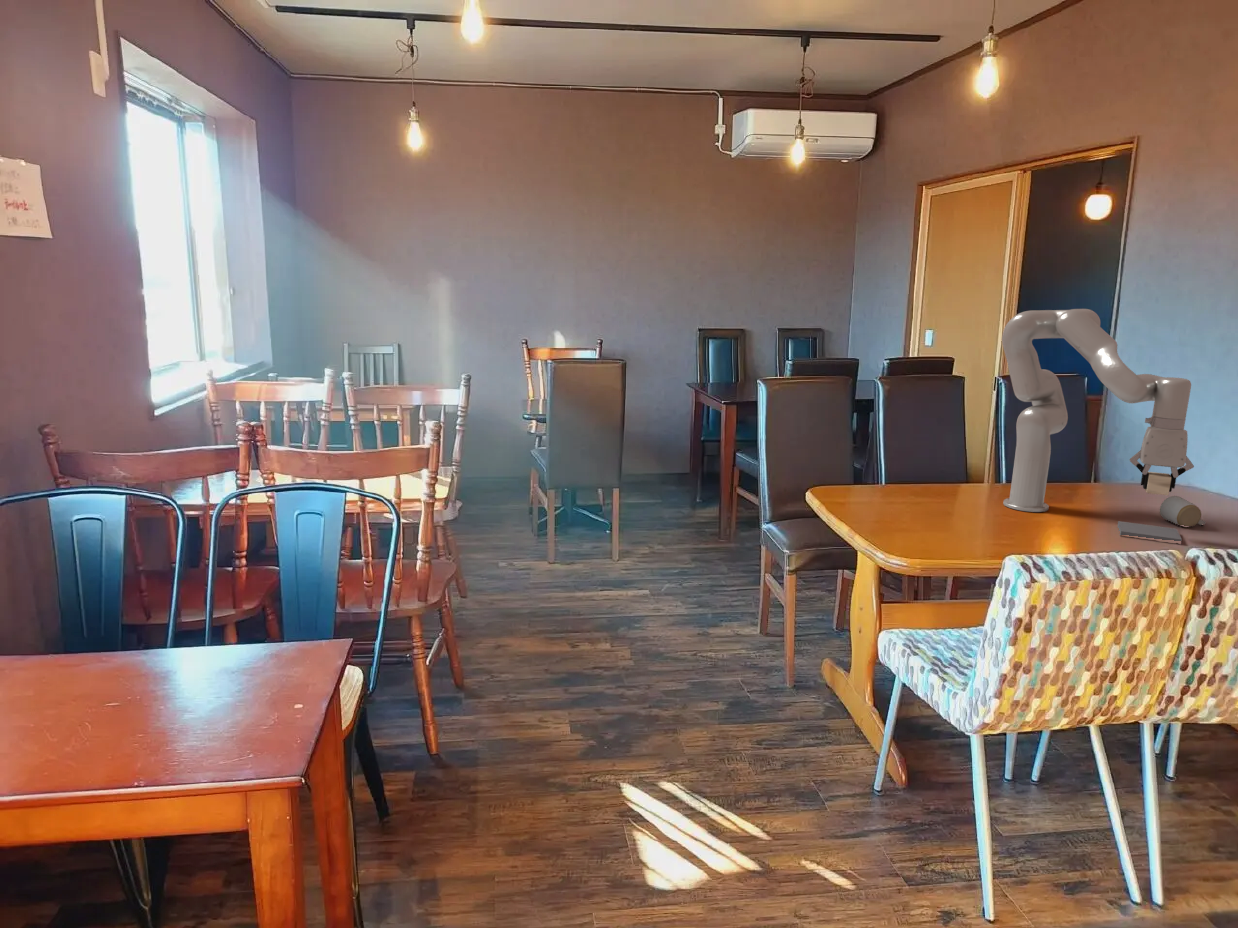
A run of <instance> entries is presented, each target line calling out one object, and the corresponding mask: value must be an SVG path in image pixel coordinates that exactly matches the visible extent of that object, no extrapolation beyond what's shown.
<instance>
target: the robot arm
mask: <svg viewBox="0 0 1238 928" xmlns="http://www.w3.org/2000/svg"><path fill="white" fill-rule="evenodd" d="M1039 339H1040V340H1041V339H1064V340H1065V341H1066V342H1067V343H1068V344H1069V345H1070V346H1071V347H1073V348H1074V350H1076V351H1077V352H1078V353H1079V354H1080V355H1081V356H1082V357H1083V358H1084V359H1085V360H1086V361H1087V362H1088V363H1089V364H1090V366H1091V368H1092V370H1093V372H1094V374H1095V375H1096V377H1097V379H1098V380H1099V381H1100V382H1101V383H1102V384H1103V385H1104V386H1105V387H1106V388H1107V389H1108V391H1110V392H1111V393H1112V395H1114V396H1115V397H1116V398H1117V399H1119V400H1121V401H1123V402H1124V403H1128V404H1137V403H1144V402H1154V403H1153V409H1152V415H1151V416H1150V417H1145V419H1144V423H1145V424H1149V425H1150V426H1147V428H1146V430H1145V433H1144V436H1143V439H1142V443H1141V447H1140V450H1138V452H1136V454H1134V455H1132V456H1131V457H1130V459H1129V462H1130V463H1131V464H1132V465H1133V466H1134V467H1136V468H1137V469H1138V470H1139V471H1140V473H1142V475H1141V479H1140V486H1142V487H1143V490H1145V489H1147V484H1148V478H1149V475H1148V472H1150V469H1151V467H1152V466H1155V467H1163V468H1164V467H1165V468H1167V467H1168V468H1170V472H1171V473H1170V476H1171V483H1170V489H1169V493H1172V489H1175V488H1176V481H1177V478H1179V477H1180V476H1181V475H1182V474H1184V473H1186V472H1187V471H1191V469H1193V468H1194V467H1195V466H1194V464H1193V463H1192V461H1191V460H1190V458H1189V457H1188V456H1187V453H1188V452H1187V451H1188V440H1189V439H1188V436H1189V435H1188V430H1186V429H1185V425H1186V417H1187V412H1188V408H1189V407H1188V406H1189V400H1190V395H1191V394H1190V393H1191V389H1192V382H1191V380H1189V379H1187V378H1182V377H1169V376H1168V377H1165V376H1159V375H1155V374H1151V373H1150V374H1149V373H1143V374H1136V373H1135V372H1134V371H1133V370H1132V369H1130V368H1129V366H1127V365H1126V364H1125V362H1124V361H1123V360H1122V359H1121V358H1120V356H1119V353H1118V342H1117V341H1116V340H1115V338H1114V337H1112V336H1111V335H1109V333H1108V332H1106V331H1105V330H1104V329H1103V327H1101V319H1100V317H1099V315H1098V314H1097V312H1095V311H1093V310H1092V309H1088V308H1071V309H1056V310H1055V309H1054V310H1052V309H1045V310H1044V309H1043V310H1040V309H1039V310H1031V309H1030V310H1026V311H1022V312H1019V313H1017V314H1015V315H1014V316H1013V317H1012V318H1010V320H1008V322H1007V323H1006V325H1005V326H1004V328H1003V332H1002V337H1001V340H1002V341H1001V342H1002V347H1003V352H1004V356H1005V359H1006V363H1007V367H1008V368H1007V369H1008V373H1009V377H1010V381H1011V385H1012V389H1013V394H1014V396H1015V397H1016V399H1018V400H1019V401H1021V402H1024V403H1031V405H1032V406H1029V407H1027V408H1025V409H1023V410H1022V411H1021V412H1020V414H1019V415H1018V417H1017V420H1016V424H1015V425H1016V426H1015V427H1016V444H1015V454H1014V461H1013V469H1012V477H1011V483H1010V484H1011V485H1010V492H1009V497H1008V498H1005V499H1003V506H1004V507H1007V508H1009V509H1013V510H1017V511H1021V512H1028V513H1029V512H1030V513H1031V512H1032V513H1042V512H1047V511H1049V507H1050V506H1049V504H1047V503H1046V502H1045V498H1046V497H1045V495H1046V491H1047V489H1046V488H1047V482H1048V481H1047V480H1048V475H1049V468H1050V459H1051V452H1052V451H1051V450H1052V445H1051V435H1055V434H1058V433H1060V432H1061V431H1062V430H1063V429H1065V427H1066V426H1067V424H1068V419H1069V417H1068V416H1069V415H1068V410H1067V405H1066V401H1065V397H1064V392H1063V388H1062V385H1061V382H1060V379H1059V377H1058V376H1057V374H1055V373H1054V372H1052V371H1051V370H1049V369H1042V367H1041V364H1040V360H1039V356H1038V352H1037V350H1036V348H1035V346H1034V345H1033V341H1034V340H1039ZM1139 459H1140V462H1141V463H1142V464H1143V465H1142V464H1141V463H1140V462H1139V461H1138V460H1139Z"/></svg>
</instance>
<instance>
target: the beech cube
mask: <svg viewBox="0 0 1238 928" xmlns="http://www.w3.org/2000/svg"><path fill="white" fill-rule="evenodd" d="M1148 475H1149V478H1148V484H1147V489H1144V491H1145V492H1146V494H1152V495H1162V496H1169V494H1170V492H1169V489H1170V483H1171V476H1170V475H1171V473H1166V472H1165V473H1164V472H1157V471H1156V472H1154V471H1148Z"/></svg>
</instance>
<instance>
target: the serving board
mask: <svg viewBox="0 0 1238 928" xmlns="http://www.w3.org/2000/svg"><path fill="white" fill-rule="evenodd" d="M1118 528H1119V530H1118V532H1119V531H1120V534H1119V536H1120V535H1129V536H1138V537H1146V538H1154V539H1162V540H1174V541H1183V540H1182V537H1181V535H1180V533H1179V531H1178V529H1177V528H1173V527H1165V526H1159V525H1158V526H1157V525H1151V524H1144V523H1135V522H1128V521H1120V520H1118V521H1117V529H1118Z"/></svg>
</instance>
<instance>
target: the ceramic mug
mask: <svg viewBox="0 0 1238 928" xmlns="http://www.w3.org/2000/svg"><path fill="white" fill-rule="evenodd" d="M1159 514H1160V516H1161V517H1162V519H1164V520H1165V519H1166V521H1167V520H1168V522H1169V521H1171V522H1170V523H1172V522H1173V523H1172V524H1174V523H1175V525H1176V524H1178V525H1184V526H1192V527H1194V526H1196V525H1199V526H1201V525H1202V524H1204V525H1205V524H1206V523H1207V522H1206V521H1205V520H1203V519H1202V511H1201V509H1200V508H1199V507H1198V506H1197V505H1196V504H1194V503H1193V502H1190V501H1189V500H1187V499H1185V498H1184V497H1182V496H1178V495H1172V496H1168V497H1167V498H1165V499H1164V500H1163V501H1162V502H1161V503H1160V506H1159ZM1178 525H1177V526H1178ZM1193 525H1194V526H1193Z"/></svg>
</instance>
